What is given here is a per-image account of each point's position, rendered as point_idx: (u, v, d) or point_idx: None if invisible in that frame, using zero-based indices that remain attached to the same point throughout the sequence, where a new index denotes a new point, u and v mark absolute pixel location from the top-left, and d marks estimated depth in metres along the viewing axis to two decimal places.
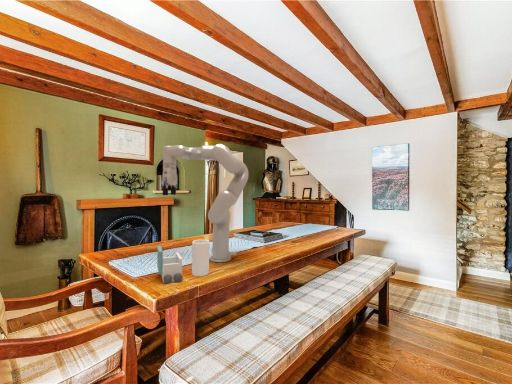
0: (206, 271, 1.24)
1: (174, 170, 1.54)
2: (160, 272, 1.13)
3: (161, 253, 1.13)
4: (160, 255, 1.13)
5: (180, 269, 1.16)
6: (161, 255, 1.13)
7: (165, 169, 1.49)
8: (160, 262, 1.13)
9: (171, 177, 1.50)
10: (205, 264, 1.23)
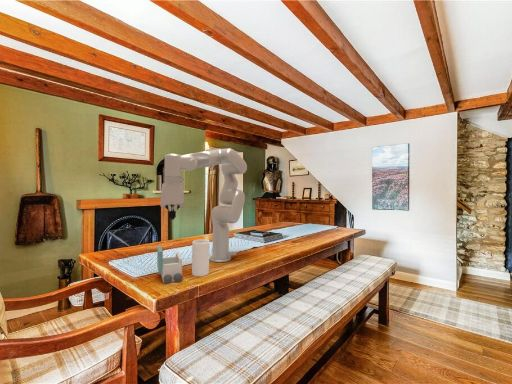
0: (206, 271, 1.24)
1: None
2: (160, 272, 1.13)
3: (161, 253, 1.13)
4: (160, 255, 1.13)
5: (180, 269, 1.16)
6: (161, 255, 1.13)
7: (182, 185, 1.21)
8: (160, 262, 1.13)
9: None
10: (205, 264, 1.23)
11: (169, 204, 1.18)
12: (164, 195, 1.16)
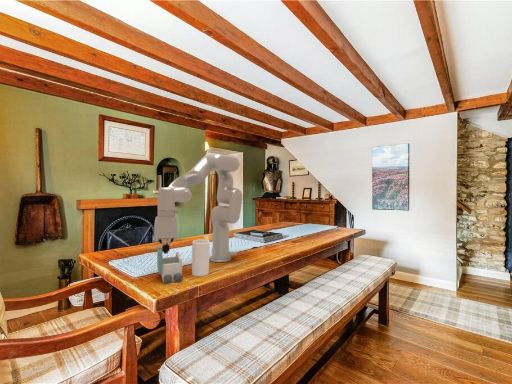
0: (206, 271, 1.24)
1: None
2: (160, 272, 1.13)
3: (161, 253, 1.13)
4: (160, 255, 1.13)
5: (180, 269, 1.16)
6: (161, 255, 1.13)
7: None
8: (160, 262, 1.13)
9: None
10: (205, 264, 1.23)
11: (162, 238, 1.16)
12: (157, 230, 1.15)
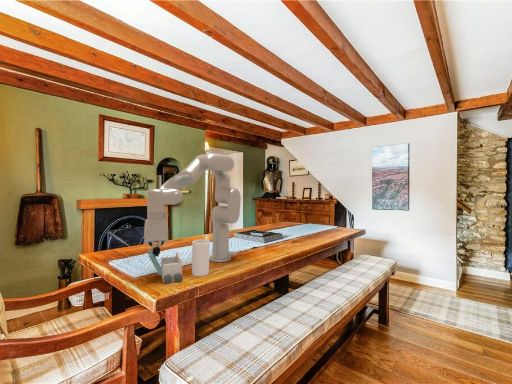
0: (206, 271, 1.24)
1: None
2: (160, 273, 1.13)
3: (151, 256, 1.11)
4: (151, 259, 1.11)
5: (180, 269, 1.16)
6: (152, 258, 1.12)
7: (166, 220, 1.18)
8: (155, 265, 1.12)
9: None
10: (205, 264, 1.23)
11: (153, 241, 1.15)
12: (147, 233, 1.13)
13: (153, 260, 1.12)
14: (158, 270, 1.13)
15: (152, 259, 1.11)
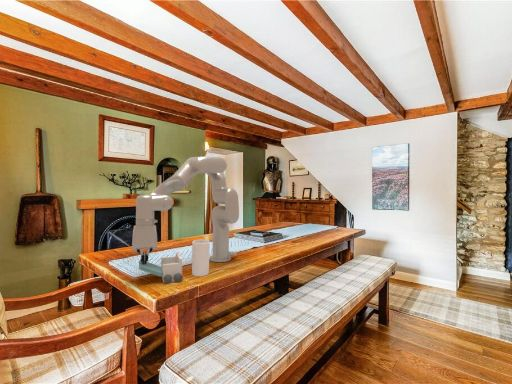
0: (206, 271, 1.24)
1: None
2: (160, 275, 1.13)
3: (142, 267, 1.10)
4: (143, 269, 1.10)
5: (180, 269, 1.16)
6: (144, 268, 1.10)
7: (155, 226, 1.16)
8: (150, 271, 1.11)
9: None
10: (205, 264, 1.23)
11: (141, 248, 1.13)
12: (135, 239, 1.11)
13: (145, 269, 1.10)
14: (156, 273, 1.12)
15: (144, 269, 1.10)
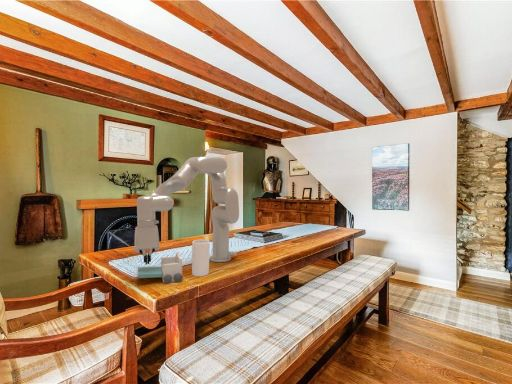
0: (206, 271, 1.24)
1: None
2: (160, 275, 1.13)
3: (140, 275, 1.10)
4: (142, 276, 1.10)
5: (180, 269, 1.16)
6: (142, 275, 1.10)
7: (157, 227, 1.17)
8: (149, 276, 1.11)
9: None
10: (205, 264, 1.23)
11: (143, 249, 1.13)
12: (137, 241, 1.12)
13: (144, 275, 1.10)
14: (157, 275, 1.12)
15: (142, 276, 1.10)
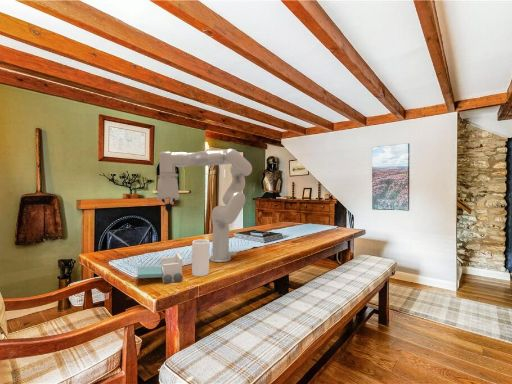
0: (206, 271, 1.24)
1: None
2: (160, 275, 1.13)
3: (140, 275, 1.10)
4: (142, 276, 1.10)
5: (180, 269, 1.16)
6: (142, 275, 1.10)
7: (176, 179, 1.33)
8: (149, 276, 1.11)
9: None
10: (205, 264, 1.23)
11: (165, 197, 1.29)
12: (160, 190, 1.28)
13: (144, 275, 1.10)
14: (157, 275, 1.12)
15: (142, 276, 1.10)
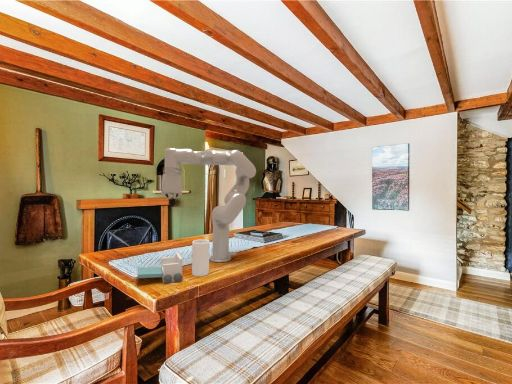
0: (206, 271, 1.24)
1: None
2: (160, 275, 1.13)
3: (140, 275, 1.10)
4: (142, 276, 1.10)
5: (180, 269, 1.16)
6: (142, 275, 1.10)
7: (180, 175, 1.37)
8: (149, 276, 1.11)
9: None
10: (205, 264, 1.23)
11: (169, 192, 1.33)
12: (164, 185, 1.32)
13: (144, 275, 1.10)
14: (157, 275, 1.12)
15: (142, 276, 1.10)
